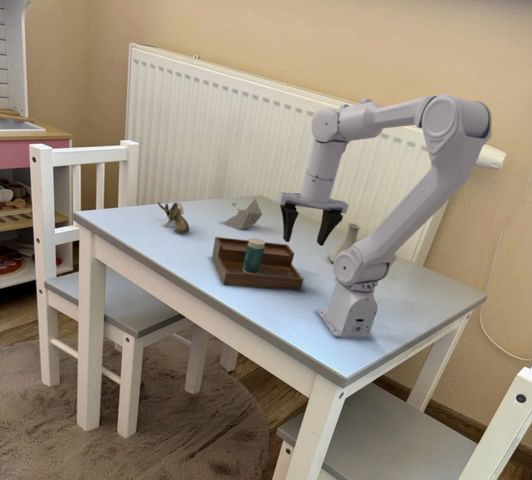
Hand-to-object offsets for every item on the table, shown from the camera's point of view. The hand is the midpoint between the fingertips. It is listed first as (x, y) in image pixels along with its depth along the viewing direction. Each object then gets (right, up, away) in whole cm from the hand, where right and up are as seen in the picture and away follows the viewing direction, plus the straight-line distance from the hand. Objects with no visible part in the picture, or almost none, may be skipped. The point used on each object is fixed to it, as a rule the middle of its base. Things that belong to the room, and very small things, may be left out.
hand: (303, 242), depth 106 cm
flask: (+12, 0, +26) cm, 28 cm away
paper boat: (-14, +12, +34) cm, 39 cm away
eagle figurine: (-31, +8, +21) cm, 38 cm away
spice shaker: (-11, -5, +3) cm, 13 cm away
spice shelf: (-10, -6, +7) cm, 13 cm away
